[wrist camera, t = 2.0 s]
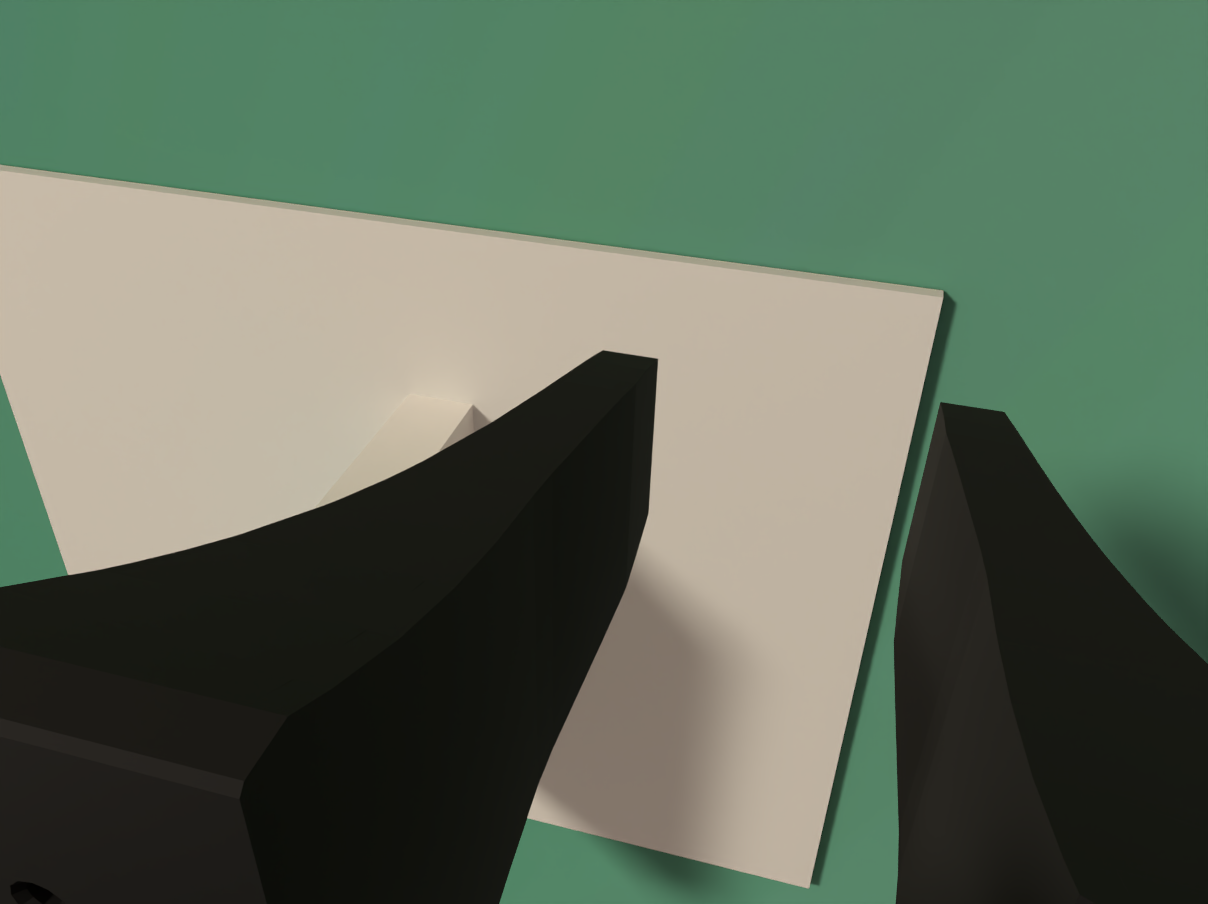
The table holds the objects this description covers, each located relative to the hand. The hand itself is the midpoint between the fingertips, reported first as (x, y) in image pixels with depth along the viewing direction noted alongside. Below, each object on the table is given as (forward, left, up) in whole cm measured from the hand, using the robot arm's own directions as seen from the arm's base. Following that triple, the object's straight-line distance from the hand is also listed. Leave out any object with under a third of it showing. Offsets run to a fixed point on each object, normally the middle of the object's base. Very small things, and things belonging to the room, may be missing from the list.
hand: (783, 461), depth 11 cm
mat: (+9, +11, -9) cm, 17 cm away
